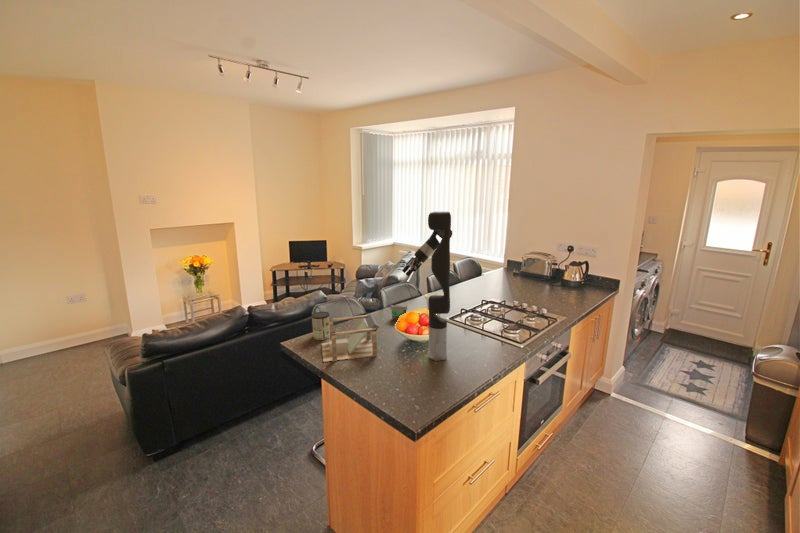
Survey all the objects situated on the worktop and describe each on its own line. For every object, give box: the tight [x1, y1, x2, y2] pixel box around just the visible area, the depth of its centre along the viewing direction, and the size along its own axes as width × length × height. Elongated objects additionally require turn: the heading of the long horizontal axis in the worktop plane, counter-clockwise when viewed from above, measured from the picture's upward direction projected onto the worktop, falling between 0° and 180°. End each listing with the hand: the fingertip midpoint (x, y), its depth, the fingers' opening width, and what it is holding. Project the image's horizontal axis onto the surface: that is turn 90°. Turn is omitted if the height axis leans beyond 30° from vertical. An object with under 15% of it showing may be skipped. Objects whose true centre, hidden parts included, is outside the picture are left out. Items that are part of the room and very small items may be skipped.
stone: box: [328, 338, 348, 353], centre depth 198 cm, size 5×5×10 cm
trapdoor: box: [347, 314, 380, 354], centre depth 200 cm, size 18×20×4 cm
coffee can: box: [311, 311, 330, 341], centre depth 217 cm, size 10×10×14 cm
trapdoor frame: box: [321, 314, 378, 363], centre depth 198 cm, size 23×28×15 cm
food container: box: [389, 303, 408, 322], centre depth 242 cm, size 12×6×10 cm, turn 62°
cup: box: [424, 292, 444, 317], centre depth 248 cm, size 12×12×15 cm
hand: (405, 273), depth 208 cm, fingers open, 8 cm apart
